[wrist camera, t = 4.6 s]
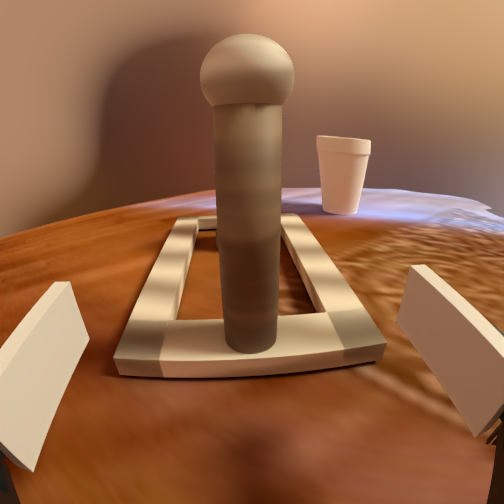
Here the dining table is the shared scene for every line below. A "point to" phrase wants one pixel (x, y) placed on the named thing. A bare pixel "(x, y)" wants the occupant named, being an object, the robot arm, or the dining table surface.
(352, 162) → the foam cup
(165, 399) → the dining table surface
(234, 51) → the joystick on frame
